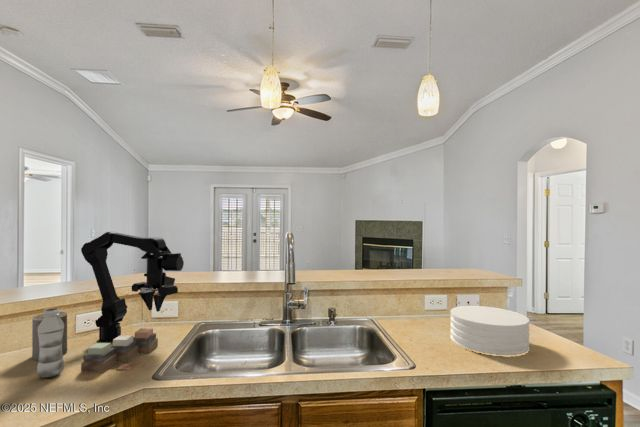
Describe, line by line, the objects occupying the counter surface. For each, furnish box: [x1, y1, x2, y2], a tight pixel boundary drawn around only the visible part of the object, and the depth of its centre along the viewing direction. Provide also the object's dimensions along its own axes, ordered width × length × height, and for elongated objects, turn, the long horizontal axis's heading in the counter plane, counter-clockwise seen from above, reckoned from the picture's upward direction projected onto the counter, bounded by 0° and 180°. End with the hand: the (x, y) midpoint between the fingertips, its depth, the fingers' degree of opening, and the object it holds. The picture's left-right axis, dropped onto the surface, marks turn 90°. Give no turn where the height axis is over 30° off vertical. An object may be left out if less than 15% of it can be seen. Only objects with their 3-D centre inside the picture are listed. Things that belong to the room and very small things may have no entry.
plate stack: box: [449, 305, 530, 355], centre depth 139 cm, size 28×28×12 cm
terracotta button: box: [134, 327, 154, 338], centre depth 128 cm, size 4×4×2 cm
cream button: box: [112, 334, 134, 346], centre depth 120 cm, size 4×4×2 cm
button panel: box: [80, 332, 159, 373], centre depth 120 cm, size 14×22×5 cm, turn 1°
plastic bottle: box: [36, 307, 65, 379], centre depth 106 cm, size 6×7×20 cm
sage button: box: [87, 342, 112, 355], centre depth 112 cm, size 4×4×2 cm
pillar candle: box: [31, 311, 68, 361], centre depth 122 cm, size 10×10×15 cm
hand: (154, 310), depth 136 cm, fingers open, 4 cm apart
